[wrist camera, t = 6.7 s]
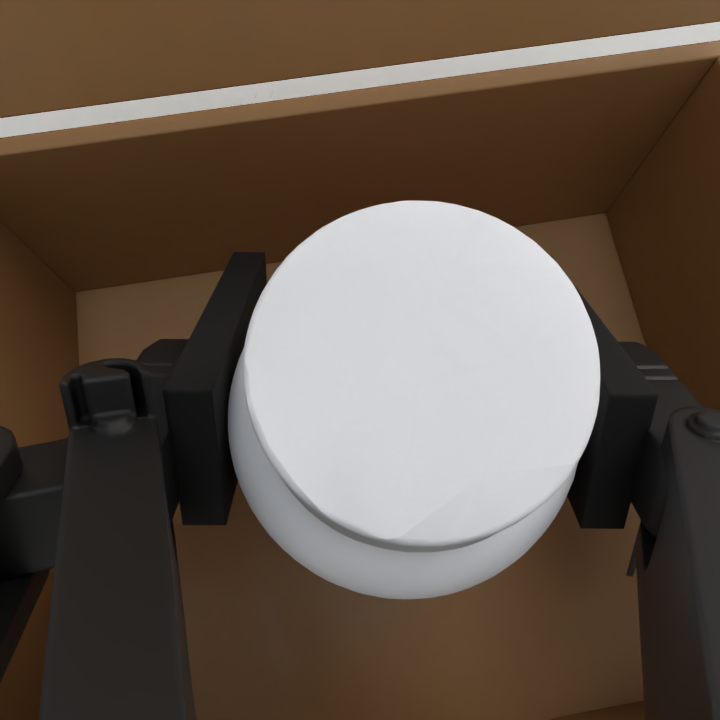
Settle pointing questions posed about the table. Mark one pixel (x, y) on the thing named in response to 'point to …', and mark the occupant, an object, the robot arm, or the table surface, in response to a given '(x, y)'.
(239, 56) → the flap
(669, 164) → the carton
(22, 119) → the table surface
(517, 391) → the pill bottle
